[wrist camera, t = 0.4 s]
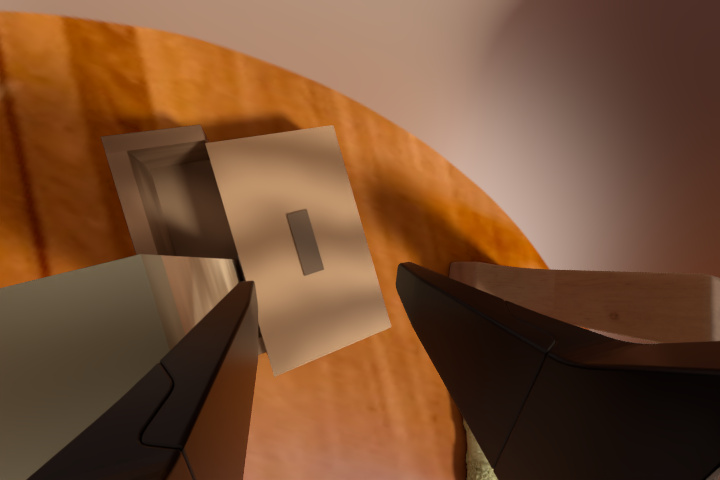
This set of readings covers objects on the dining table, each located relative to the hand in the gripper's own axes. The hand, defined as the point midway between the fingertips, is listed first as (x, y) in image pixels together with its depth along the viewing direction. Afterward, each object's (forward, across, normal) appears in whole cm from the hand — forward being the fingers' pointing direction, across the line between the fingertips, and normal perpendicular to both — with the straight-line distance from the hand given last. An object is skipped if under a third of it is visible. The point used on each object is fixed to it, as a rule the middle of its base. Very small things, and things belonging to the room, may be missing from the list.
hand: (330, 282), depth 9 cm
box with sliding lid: (+17, +3, +7) cm, 18 cm away
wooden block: (+14, -21, +13) cm, 28 cm away
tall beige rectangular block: (+15, +7, +10) cm, 19 cm away
